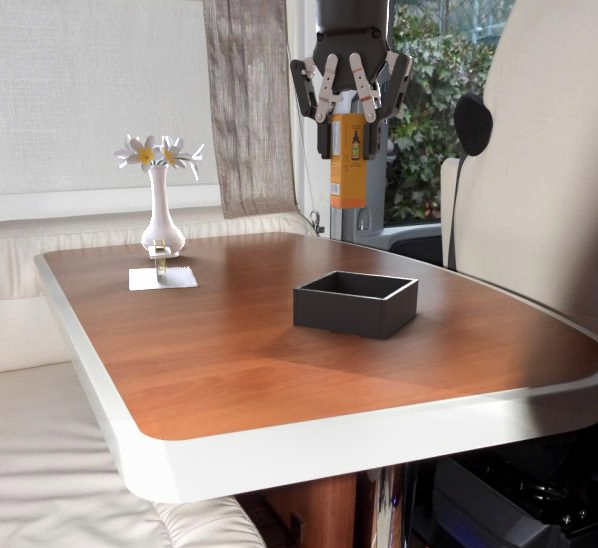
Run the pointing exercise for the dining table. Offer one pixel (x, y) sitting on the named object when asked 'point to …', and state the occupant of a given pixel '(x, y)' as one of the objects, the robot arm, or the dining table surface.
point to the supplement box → (347, 161)
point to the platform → (161, 273)
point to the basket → (355, 303)
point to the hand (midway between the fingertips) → (347, 158)
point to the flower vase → (159, 184)
